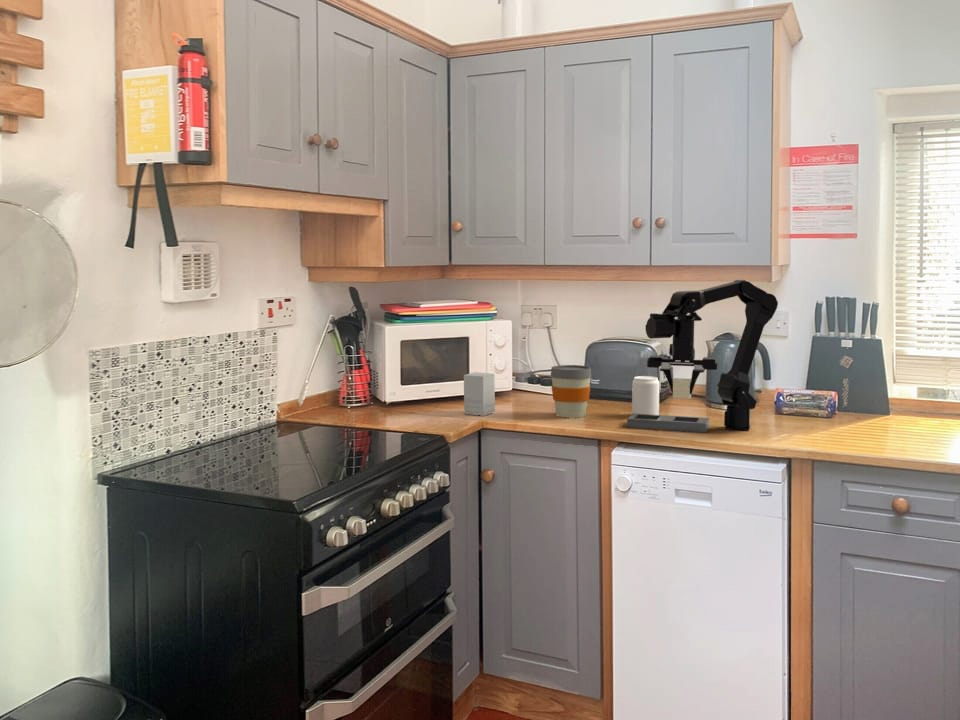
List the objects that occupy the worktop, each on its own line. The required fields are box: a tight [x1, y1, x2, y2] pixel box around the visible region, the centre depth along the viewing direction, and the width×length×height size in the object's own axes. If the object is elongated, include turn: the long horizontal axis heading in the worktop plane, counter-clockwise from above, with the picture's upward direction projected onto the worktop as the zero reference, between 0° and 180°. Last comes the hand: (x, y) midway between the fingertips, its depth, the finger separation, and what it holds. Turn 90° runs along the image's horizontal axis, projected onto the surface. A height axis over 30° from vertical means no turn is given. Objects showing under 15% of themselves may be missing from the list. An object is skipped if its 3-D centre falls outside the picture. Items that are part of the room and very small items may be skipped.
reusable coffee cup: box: [550, 364, 593, 418], centre depth 261 cm, size 13×13×15 cm
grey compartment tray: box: [626, 413, 710, 433], centre depth 243 cm, size 22×9×2 cm, turn 69°
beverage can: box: [631, 375, 660, 415], centre depth 259 cm, size 8×8×12 cm
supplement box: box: [463, 372, 496, 417], centre depth 265 cm, size 7×7×13 cm
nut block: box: [672, 377, 692, 400], centre depth 233 cm, size 4×4×5 cm
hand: (681, 393), depth 233 cm, fingers closed on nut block, 4 cm apart
